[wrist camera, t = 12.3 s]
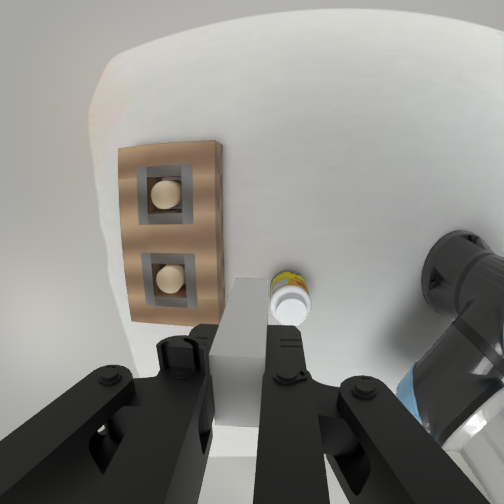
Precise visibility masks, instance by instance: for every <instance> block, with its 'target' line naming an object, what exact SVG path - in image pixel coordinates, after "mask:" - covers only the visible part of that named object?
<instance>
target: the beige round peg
mask: <svg viewBox="0 0 504 504" xmlns="http://www.w3.org/2000/svg"><path fill="white" fill-rule="evenodd" d="M151 199H152V202H153V203H154V205H155V206H156V207H158V208H160V209H168V208H171V207H174V206H178V205H181V204H182V184H181V181H179V180H173V181H161V182H158V183H157V184H156V185H155V186H154V187H153V189H152V191H151Z"/></svg>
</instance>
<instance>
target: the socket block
mask: <svg viewBox="0 0 504 504" xmlns="http://www.w3.org/2000/svg"><path fill="white" fill-rule="evenodd" d="M175 176H181V184H182V209H160V208H158V207H156V206H155V205H154V203H153V202H152V199H151V191H152V189H153V187H154V186H155V185H156V184H157V183H158V182H161V181H162V177H175ZM118 183H119V208H120V225H121V239H122V250H123V260H124V270H125V278H126V286H127V294H128V301H129V308H130V315H131V321H133V322H144V323H155V324H167V325H180V326H195V327H196V326H197V325H199V324H200V323H201V324H220V321H221V319H222V316H223V313H224V310H225V291H224V255H223V197H222V145H221V144H220V143H218V142H217V141H215V140H210V141H191V142H176V143H163V144H152V145H142V146H133V147H125V148H118ZM166 264H185V279H186V284H183V285H182V286H181V288H180V289H179V290H178V291H177V292H175V293H166V292H163V291H162V290H161V289H160V288H159V287H158V285H157V281H156V277H157V274H158V272H159V271H160V270H161V269H163V268H164V267H165V266H166Z"/></svg>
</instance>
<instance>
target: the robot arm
mask: <svg viewBox="0 0 504 504" xmlns="http://www.w3.org/2000/svg"><path fill="white" fill-rule="evenodd" d="M268 288H269V279H256V278H236V279H235V282H234V285H233V288H232V291H231V293H230V296H229V299H228V302H227V305H226V307H225V310H224V313H223V316H222V319H221V321H220V324H201V323H200V324H199V325H197V326H196V327H194V328H193V329H192V330H191V331H190V333H189V335H188V336H186V335H181V336H172V337H168V338H165V339H163V340H161V341H160V342H159V343H158V344H157V345H156V347H157V353H158V359H159V365H160V371H159V373H158V375H157V376H155V377H149V378H134V379H133V376H132V373H131V372H130V370H129V369H127V368H126V367H124V366H120V365H106V366H103V367H100V368H98V369H96V370H94V371H93V372H91V373H90V374H89V375H87V376H86V377H85V378H84V379H82V380H81V381H79V382H78V383H77V384H75V385H74V386H73V387H71V388H70V389H69V390H67V391H66V392H65V393H63V394H62V395H61V396H60V397H58V398H57V399H55V400H54V401H53V402H51V403H50V404H49V405H47V406H46V407H45V408H43V409H42V410H41V411H40V412H38V413H37V414H36V415H34V416H33V417H32V418H30V419H29V420H28V421H26V422H25V423H24V424H22V425H21V426H20V427H18V428H17V429H16V430H14V431H13V432H12V433H10V434H9V435H8V436H7V437H5V438H4V439H2V440H1V441H0V504H197V503H198V499H199V494H200V490H201V486H202V481H203V477H204V472H205V468H206V464H207V459H208V455H209V451H210V446H211V442H212V438H213V433H212V422H213V417H214V419H215V425H226V426H241V427H259V434H258V447H257V460H256V473H255V484H254V497H253V504H330V500H329V492H328V484H327V476H326V469H325V461H324V454H326V457H327V460H328V462H329V464H330V465H331V468H332V469H333V472H334V473H335V476H336V478H337V480H338V481H339V484H340V486H341V488H342V490H343V491H344V493H345V495H346V497H347V499H348V501H349V503H350V504H490V503H489V501H488V500H487V499H486V498H485V497H484V496H483V494H482V493H481V492H480V491H479V490H478V489H477V488H476V487H475V485H474V484H473V483H472V482H471V481H470V480H469V478H468V477H467V476H466V475H465V474H464V473H463V472H462V470H461V469H460V468H459V467H458V466H457V465H456V463H454V461H453V460H452V459H451V458H450V457H449V456H448V454H447V453H446V452H445V451H455V452H458V453H459V454H460V455H461V457H462V458H463V460H464V461H465V462H466V464H467V465H468V467H469V468H470V470H471V471H472V473H473V474H474V476H475V477H476V478H477V480H478V481H479V483H480V484H481V486H482V487H483V489H484V490H485V492H486V493H487V495H488V496H489V498H490V500H491V501H492V503H493V504H504V383H503V382H502V381H501V380H502V378H503V376H504V257H501V256H499V255H496V254H495V253H494V252H493V251H492V250H491V249H490V247H489V246H488V245H487V244H486V243H485V242H484V240H483V239H481V238H480V237H479V236H477V235H475V234H472V233H470V232H466V231H455V232H451V233H449V234H447V235H445V236H444V237H443V238H441V239H440V240H439V241H438V242H437V243H436V244H435V245H434V247H433V248H432V249H431V251H430V253H429V254H428V256H427V259H426V261H425V264H424V267H423V272H422V290H423V294H424V297H425V299H426V301H427V302H428V304H429V305H430V306H431V307H432V308H433V309H434V310H436V311H437V312H438V313H440V314H441V315H444V316H447V317H452V318H456V319H455V321H454V322H453V323H452V324H451V325H450V327H449V328H448V329H447V330H446V331H445V333H444V334H443V335H442V336H441V337H440V338H439V339H438V341H437V342H436V343H435V344H434V345H433V346H432V347H431V348H430V349H429V351H428V352H427V353H426V354H425V355H424V356H423V357H422V358H421V359H420V360H419V361H418V362H417V363H415V364H414V365H413V366H412V368H411V370H410V371H409V373H408V374H407V375H406V376H405V377H404V378H403V379H402V380H401V381H400V383H399V384H398V387H397V393H396V396H395V395H394V393H393V392H392V391H391V390H390V389H389V388H388V387H387V386H386V385H385V384H384V383H383V382H382V381H380V380H379V379H376V378H374V377H370V376H363V375H362V376H353V377H350V378H348V379H346V380H344V381H343V382H342V383H341V385H340V387H334V386H328V385H324V384H321V383H319V382H316V381H315V380H313V379H312V376H311V375H310V373H309V371H307V370H306V363H305V357H304V351H303V344H302V338H301V332H300V331H299V330H298V329H297V328H296V327H295V326H294V325H268ZM102 425H104V427H105V429H104V430H103V431H101V432H99V433H98V431H97V430H98V429H100V428H101V427H102ZM323 453H324V454H323Z"/></svg>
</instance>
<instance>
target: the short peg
mask: <svg viewBox="0 0 504 504" xmlns="http://www.w3.org/2000/svg"><path fill="white" fill-rule="evenodd" d="M156 281H157V285H158V287H159V288H160V289H161V290H162V291H163V292H166V293H175V292H177V291H178V290H179V289H180V288H181V286H182V285H183V284H184V283H185V282H186V279H185V264H167V265H166V266H165V267H164V268H163V269H161V270H160V271H159V272H158V274H157V277H156Z"/></svg>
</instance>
